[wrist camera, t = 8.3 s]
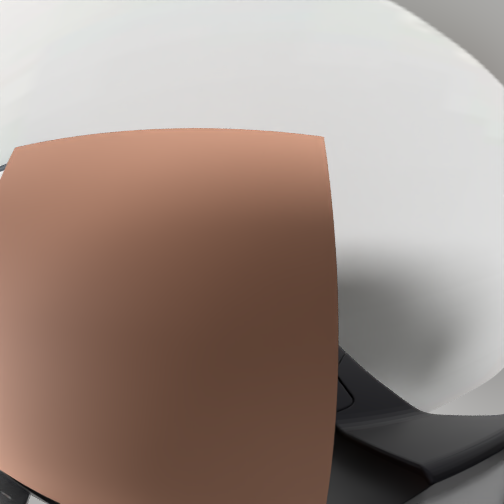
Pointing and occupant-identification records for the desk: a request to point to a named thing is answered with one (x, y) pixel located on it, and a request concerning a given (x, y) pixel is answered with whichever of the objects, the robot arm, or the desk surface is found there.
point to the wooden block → (169, 318)
